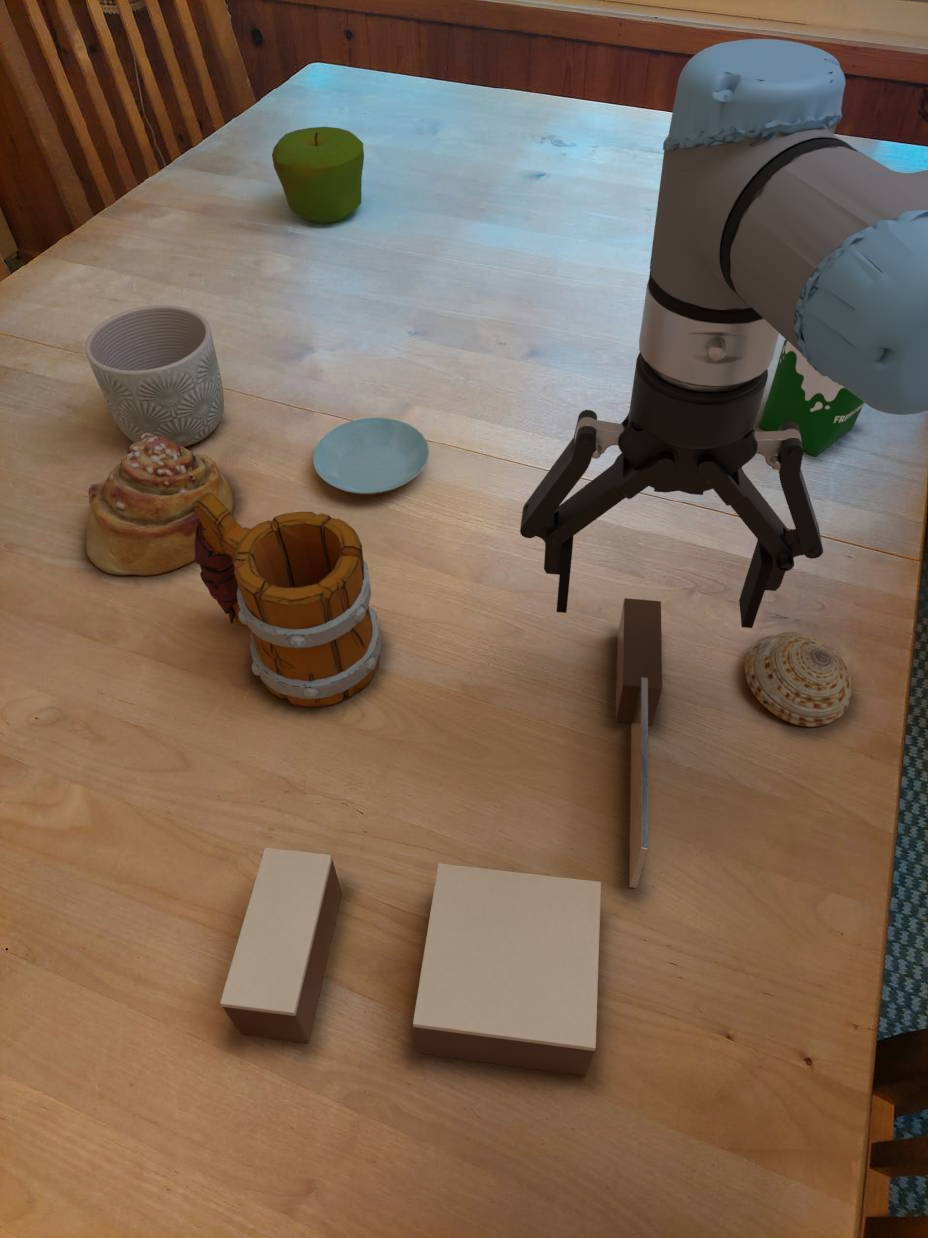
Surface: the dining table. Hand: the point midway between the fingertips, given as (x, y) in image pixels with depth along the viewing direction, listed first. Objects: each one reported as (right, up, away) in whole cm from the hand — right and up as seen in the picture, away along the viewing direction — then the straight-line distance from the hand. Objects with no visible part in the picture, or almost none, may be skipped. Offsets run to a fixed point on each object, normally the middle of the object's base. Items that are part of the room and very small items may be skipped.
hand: (652, 607), depth 68 cm
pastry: (-44, +8, +21) cm, 49 cm away
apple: (-34, +58, +63) cm, 93 cm away
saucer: (-24, +14, +26) cm, 38 cm away
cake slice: (-26, -24, -7) cm, 36 cm away
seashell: (+13, -6, +7) cm, 16 cm away
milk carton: (+23, +19, +29) cm, 42 cm away
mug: (-29, -4, +10) cm, 31 cm away
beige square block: (-11, -25, -9) cm, 29 cm away
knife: (-1, -11, +3) cm, 12 cm away
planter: (-46, +20, +31) cm, 59 cm away
